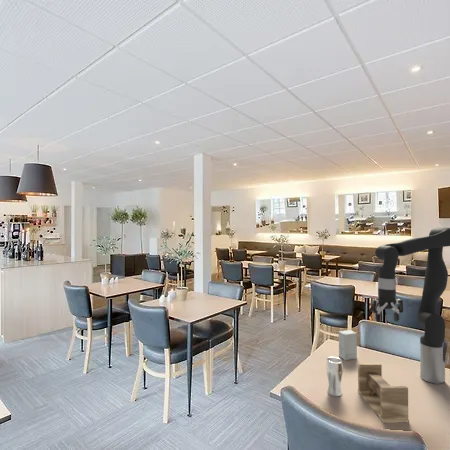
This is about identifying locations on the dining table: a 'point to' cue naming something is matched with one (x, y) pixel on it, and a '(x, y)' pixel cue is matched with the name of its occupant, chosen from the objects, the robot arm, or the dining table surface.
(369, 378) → the shelf board
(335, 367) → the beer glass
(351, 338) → the skincare box
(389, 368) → the dining table surface
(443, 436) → the dining table surface
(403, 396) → the peg jig
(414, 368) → the dining table surface
